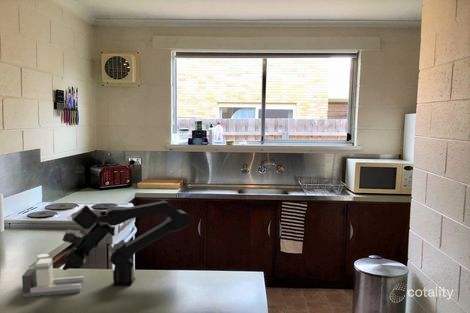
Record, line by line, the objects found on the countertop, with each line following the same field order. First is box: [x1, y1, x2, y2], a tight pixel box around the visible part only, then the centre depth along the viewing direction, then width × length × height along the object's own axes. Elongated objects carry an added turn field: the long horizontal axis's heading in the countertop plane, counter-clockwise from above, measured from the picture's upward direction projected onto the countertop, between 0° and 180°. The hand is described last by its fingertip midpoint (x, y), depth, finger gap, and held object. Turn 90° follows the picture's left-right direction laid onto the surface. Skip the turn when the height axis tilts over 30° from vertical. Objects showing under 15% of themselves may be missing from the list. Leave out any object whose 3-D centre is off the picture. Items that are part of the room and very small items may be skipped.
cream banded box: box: [35, 257, 54, 287], centre depth 135 cm, size 4×5×9 cm
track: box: [21, 267, 85, 298], centre depth 136 cm, size 18×8×7 cm, turn 101°
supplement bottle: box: [34, 253, 50, 268], centre depth 144 cm, size 5×5×10 cm
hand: (63, 269), depth 136 cm, fingers closed
